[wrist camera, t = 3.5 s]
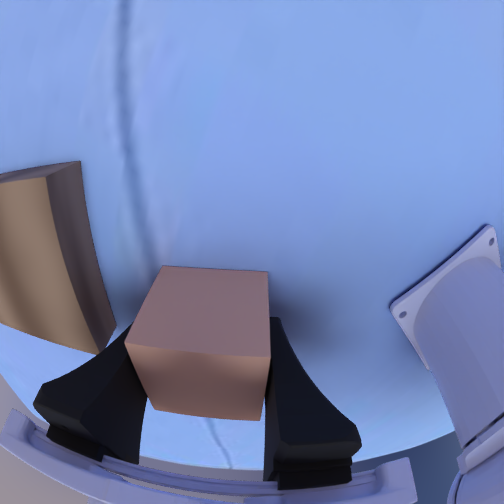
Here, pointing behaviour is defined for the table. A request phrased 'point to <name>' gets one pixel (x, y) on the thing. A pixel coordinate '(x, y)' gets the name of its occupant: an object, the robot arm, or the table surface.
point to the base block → (51, 259)
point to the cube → (204, 342)
